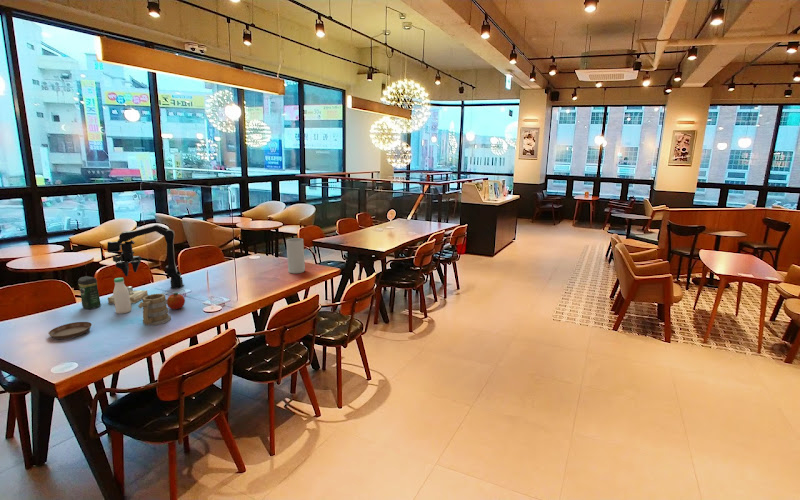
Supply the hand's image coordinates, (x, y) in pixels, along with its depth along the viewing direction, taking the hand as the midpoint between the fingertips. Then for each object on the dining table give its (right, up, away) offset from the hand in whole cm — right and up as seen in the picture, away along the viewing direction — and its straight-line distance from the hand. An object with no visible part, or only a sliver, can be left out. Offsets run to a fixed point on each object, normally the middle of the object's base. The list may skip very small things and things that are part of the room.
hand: (130, 274), depth 280 cm
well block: (+6, -15, -12) cm, 20 cm away
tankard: (+43, -24, -50) cm, 70 cm away
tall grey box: (+6, -15, -12) cm, 20 cm away
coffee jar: (-8, -18, -25) cm, 32 cm away
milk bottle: (+16, -20, -32) cm, 41 cm away
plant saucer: (+9, -27, -62) cm, 68 cm away
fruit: (+44, -19, -27) cm, 55 cm away
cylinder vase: (+97, -1, +49) cm, 109 cm away
